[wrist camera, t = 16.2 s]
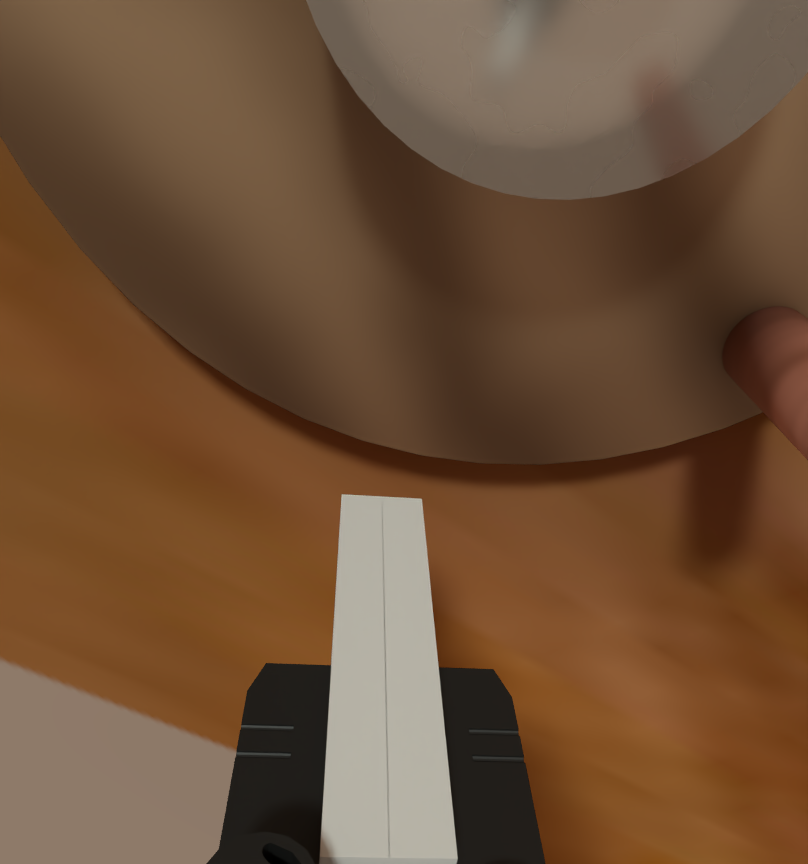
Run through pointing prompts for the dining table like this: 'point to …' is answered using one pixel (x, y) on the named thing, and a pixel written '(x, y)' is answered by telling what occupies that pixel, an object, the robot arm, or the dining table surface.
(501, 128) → the cover
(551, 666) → the dining table surface
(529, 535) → the dining table surface
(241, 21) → the turntable
